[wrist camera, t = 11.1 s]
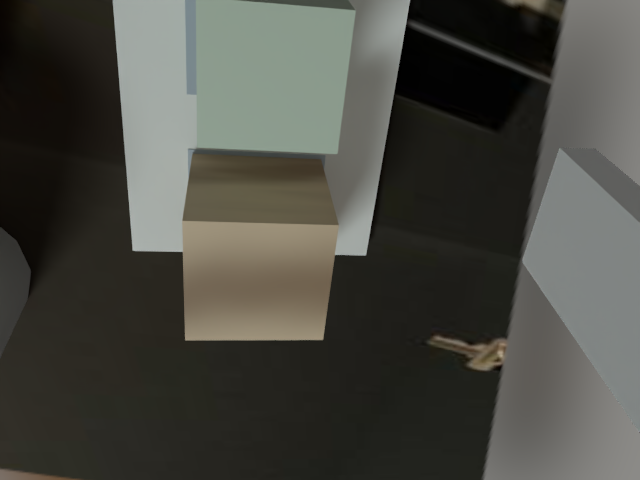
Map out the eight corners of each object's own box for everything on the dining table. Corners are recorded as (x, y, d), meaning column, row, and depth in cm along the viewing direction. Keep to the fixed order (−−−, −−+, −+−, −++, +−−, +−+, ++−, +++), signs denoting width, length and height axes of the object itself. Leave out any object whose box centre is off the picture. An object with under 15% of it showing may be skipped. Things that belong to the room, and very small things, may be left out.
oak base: (192, 153, 27) (182, 220, 22) (321, 159, 28) (338, 225, 23) (194, 260, 31) (185, 340, 26) (309, 262, 31) (322, 339, 26)
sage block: (204, -35, 23) (196, -4, 18) (331, -23, 24) (355, 10, 19) (204, 90, 26) (197, 147, 21) (318, 97, 27) (337, 154, 22)
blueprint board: (110, -81, 23) (106, -79, 22) (413, -50, 24) (418, -47, 24) (136, 253, 31) (133, 262, 30) (361, 257, 33) (364, 266, 32)
